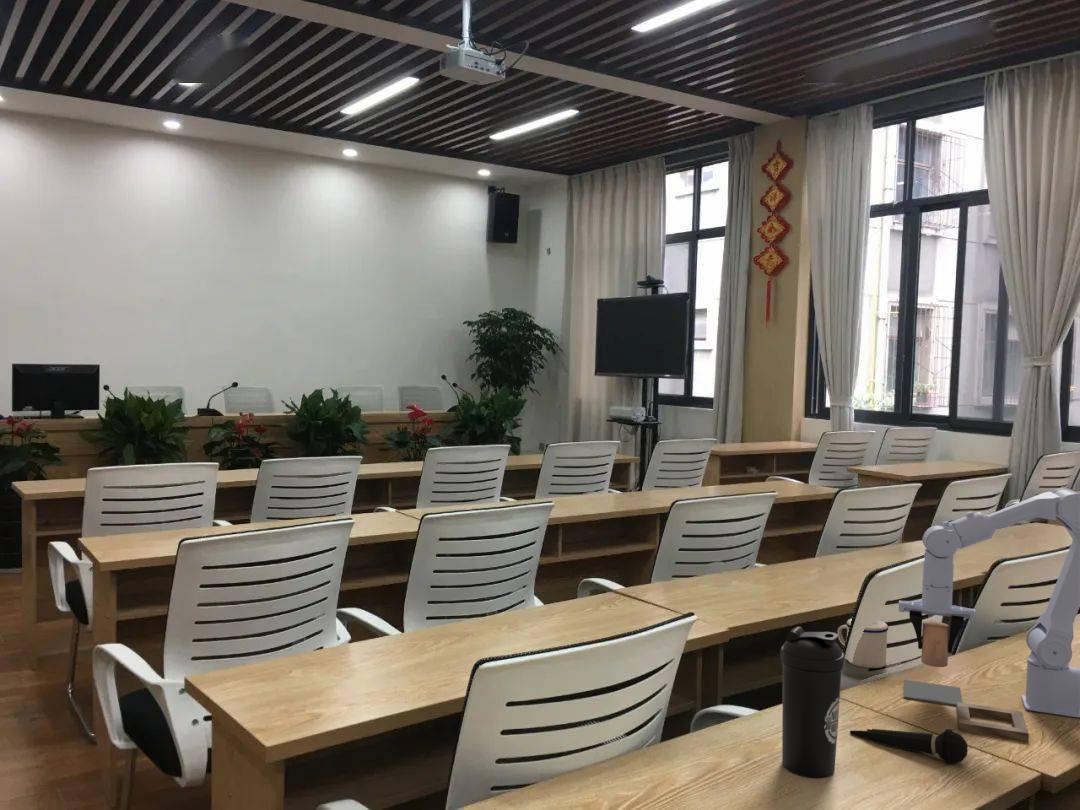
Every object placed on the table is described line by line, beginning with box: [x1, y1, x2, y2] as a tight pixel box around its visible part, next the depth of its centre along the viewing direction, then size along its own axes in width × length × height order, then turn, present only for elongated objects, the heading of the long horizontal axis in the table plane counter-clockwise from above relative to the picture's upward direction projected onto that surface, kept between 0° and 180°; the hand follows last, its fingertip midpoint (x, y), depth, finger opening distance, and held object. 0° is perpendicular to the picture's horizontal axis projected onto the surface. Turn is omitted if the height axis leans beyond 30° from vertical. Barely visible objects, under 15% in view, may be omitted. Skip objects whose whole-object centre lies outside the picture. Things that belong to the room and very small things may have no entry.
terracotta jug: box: [920, 620, 950, 668], centre depth 185 cm, size 8×5×8 cm, turn 166°
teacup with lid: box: [837, 617, 889, 669], centre depth 207 cm, size 12×9×12 cm
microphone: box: [849, 728, 969, 765], centre depth 159 cm, size 6×6×20 cm
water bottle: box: [780, 626, 845, 779], centre depth 151 cm, size 10×10×23 cm
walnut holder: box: [955, 702, 1030, 742], centre depth 171 cm, size 12×12×2 cm
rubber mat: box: [903, 679, 963, 707], centre depth 187 cm, size 11×11×1 cm
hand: (934, 649), depth 186 cm, fingers closed on terracotta jug, 5 cm apart
